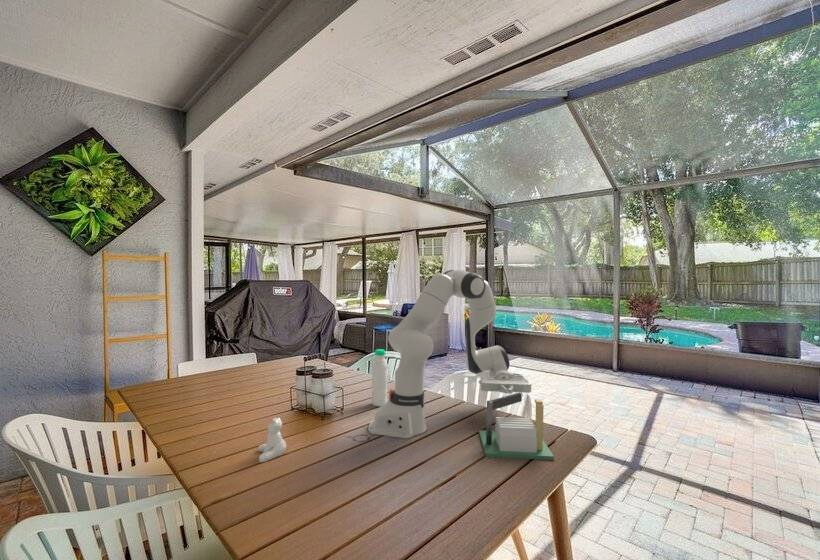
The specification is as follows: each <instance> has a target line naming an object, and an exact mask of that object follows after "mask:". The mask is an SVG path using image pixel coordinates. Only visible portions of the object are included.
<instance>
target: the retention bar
mask: <svg viewBox="0 0 820 560" xmlns="http://www.w3.org/2000/svg"><path fill="white" fill-rule="evenodd" d="M522 396H523V392H514V393H512V394H509V395H505V396H501V397H499V398H495V399H492V400H491V399H490V400H486V412H485V413H486V415H485V416H486V419H485V420H486V421H485V422H486V424H485V431H486V443H487V444H492V431H493V411H495V410H497V409H501V408H505V407H507V406H510V405H514V404H518V403H521V402H522V401H523V397H522Z"/></svg>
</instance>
